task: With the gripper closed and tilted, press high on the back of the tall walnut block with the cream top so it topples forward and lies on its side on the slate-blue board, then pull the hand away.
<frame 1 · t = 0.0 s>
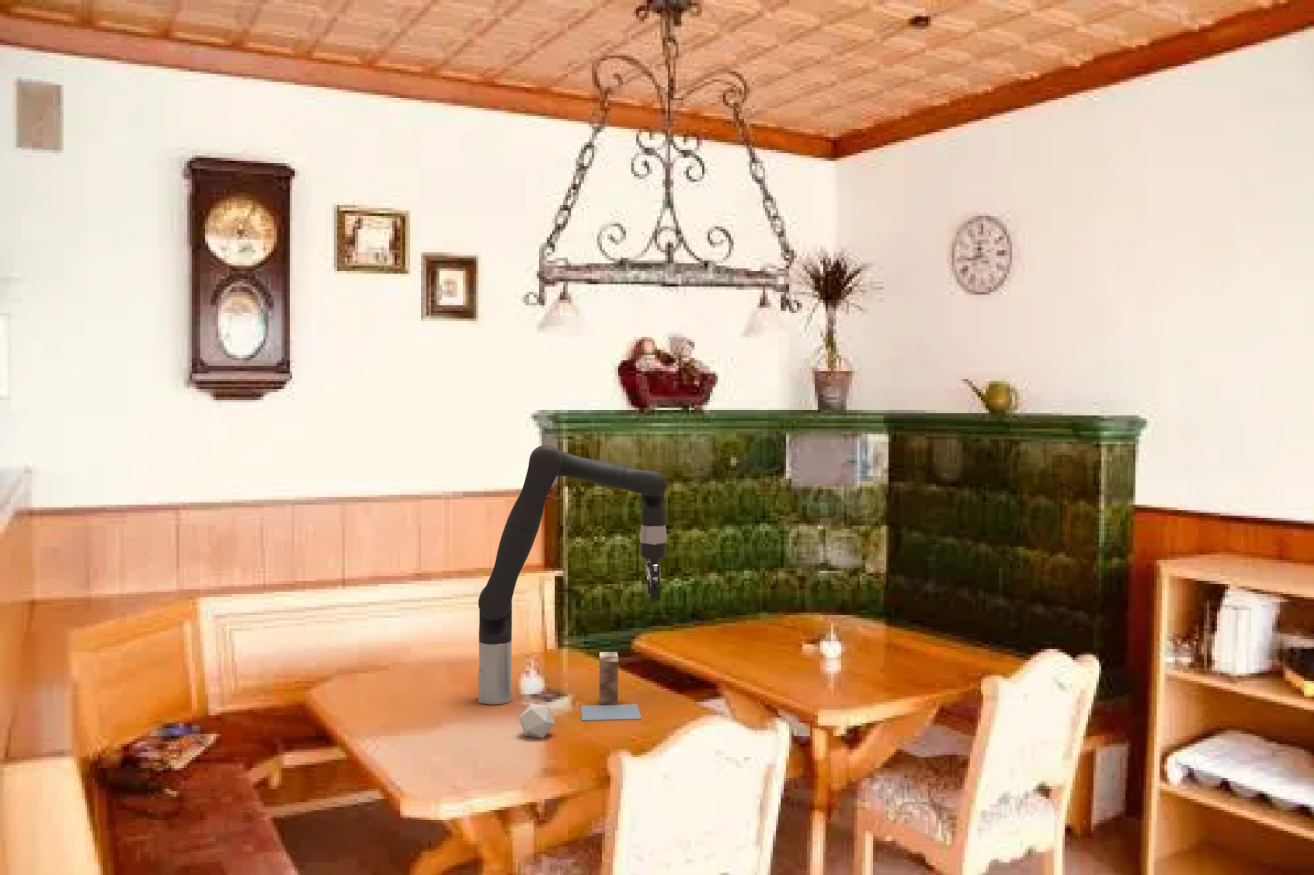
hand: (653, 596, 327), 29 cm above the table, tool pointing down, fingers open, 8 cm apart
block: (608, 703, 323), on the table
board: (610, 713, 313), on the table
die: (536, 736, 294), on the table
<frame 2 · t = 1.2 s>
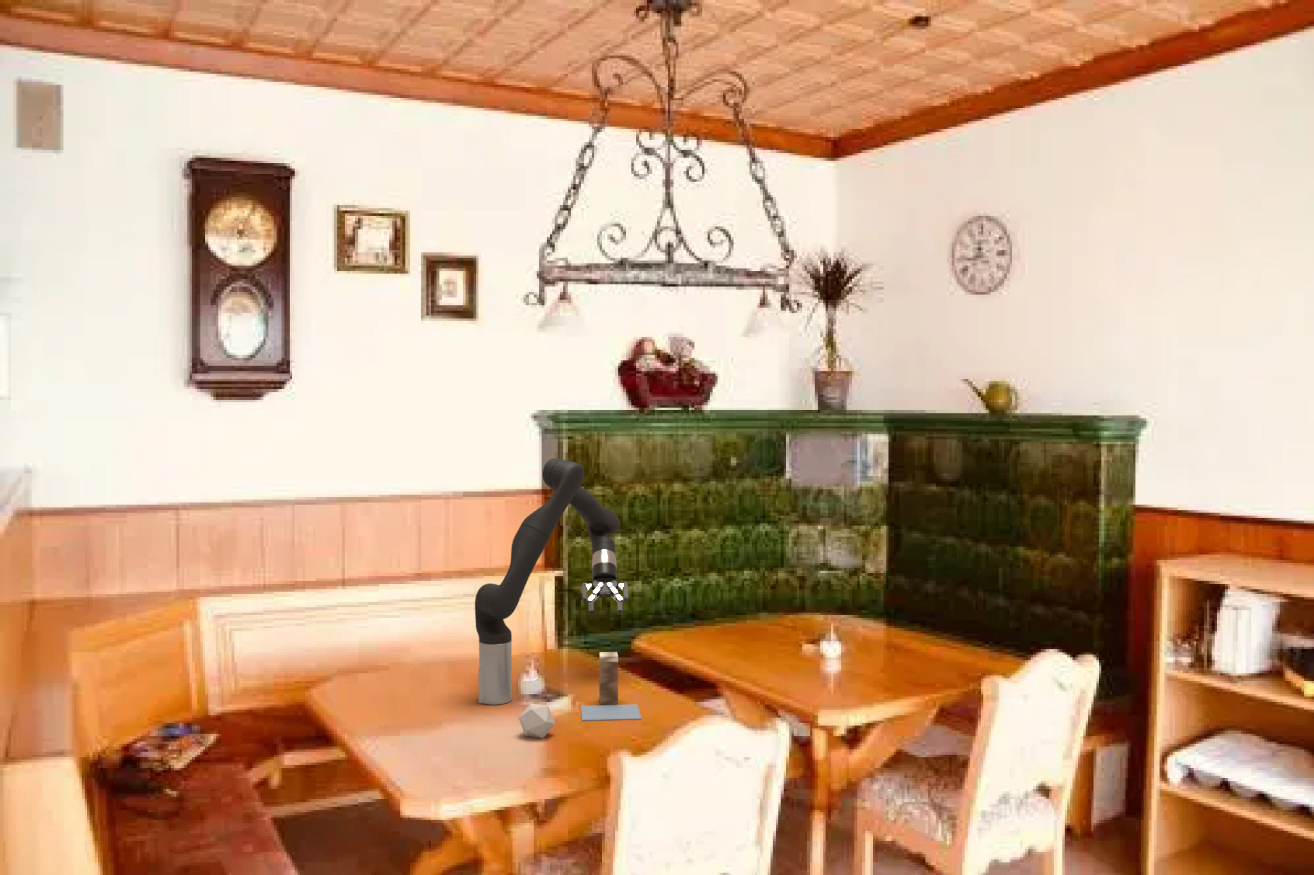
hand: (605, 613, 340), 22 cm above the table, tool tilted 45°, fingers open, 7 cm apart
nothing on the table moved.
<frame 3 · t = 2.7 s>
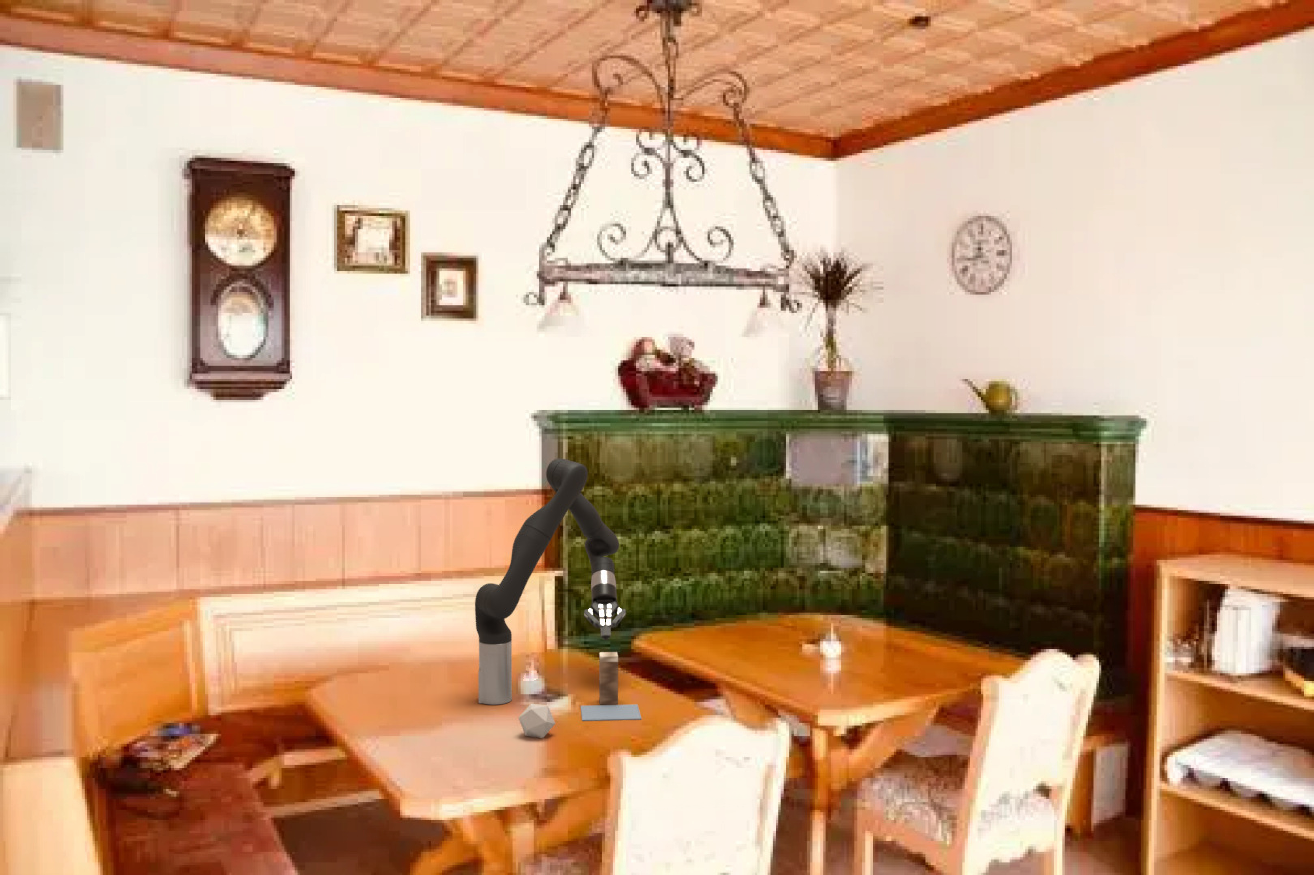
hand: (606, 638, 333), 16 cm above the table, tool tilted 45°, fingers closed
nothing on the table moved.
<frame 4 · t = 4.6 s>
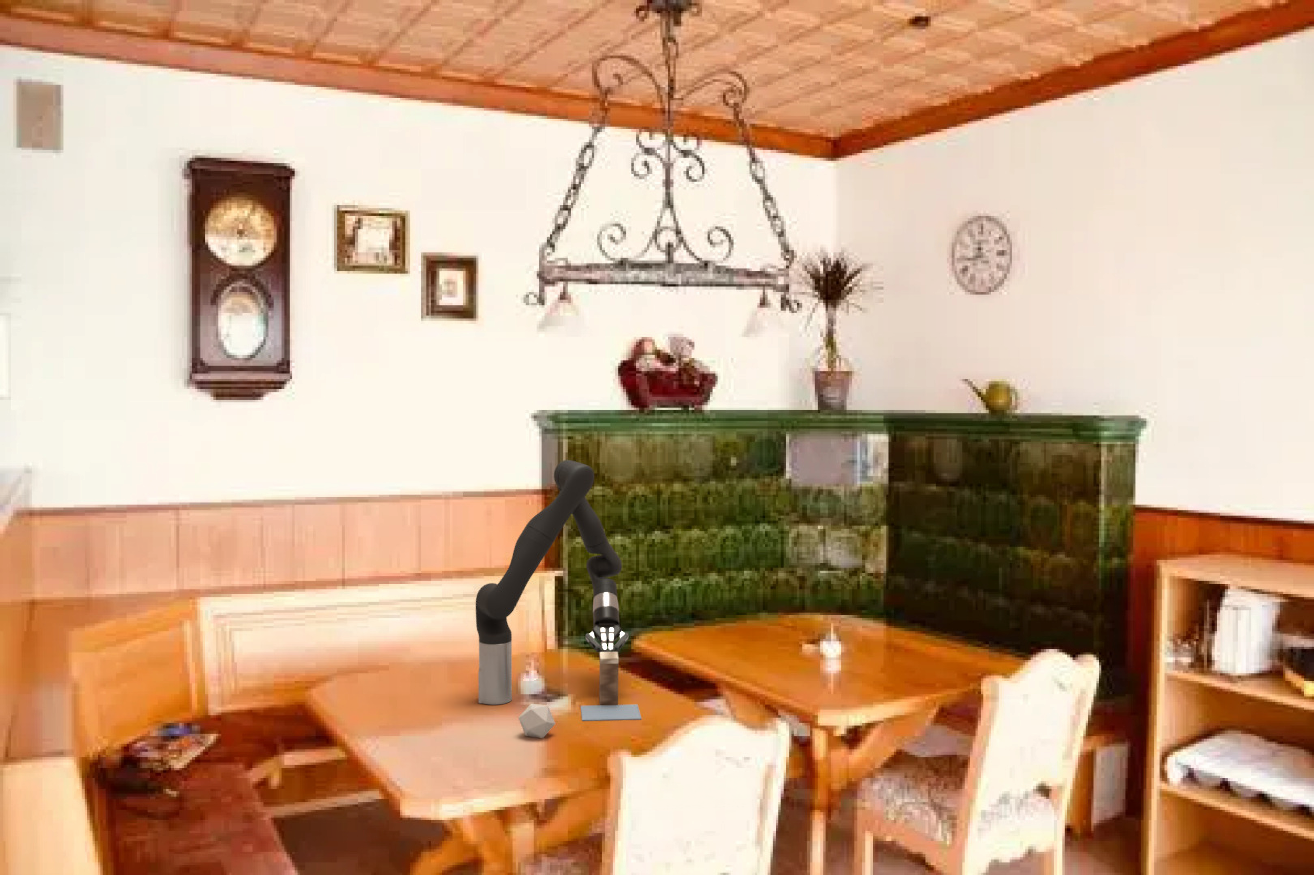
hand: (608, 663, 324), 11 cm above the table, tool tilted 45°, fingers closed
block: (608, 702, 323), on the table, tilted 7°, touching gripper
everything else where it was.
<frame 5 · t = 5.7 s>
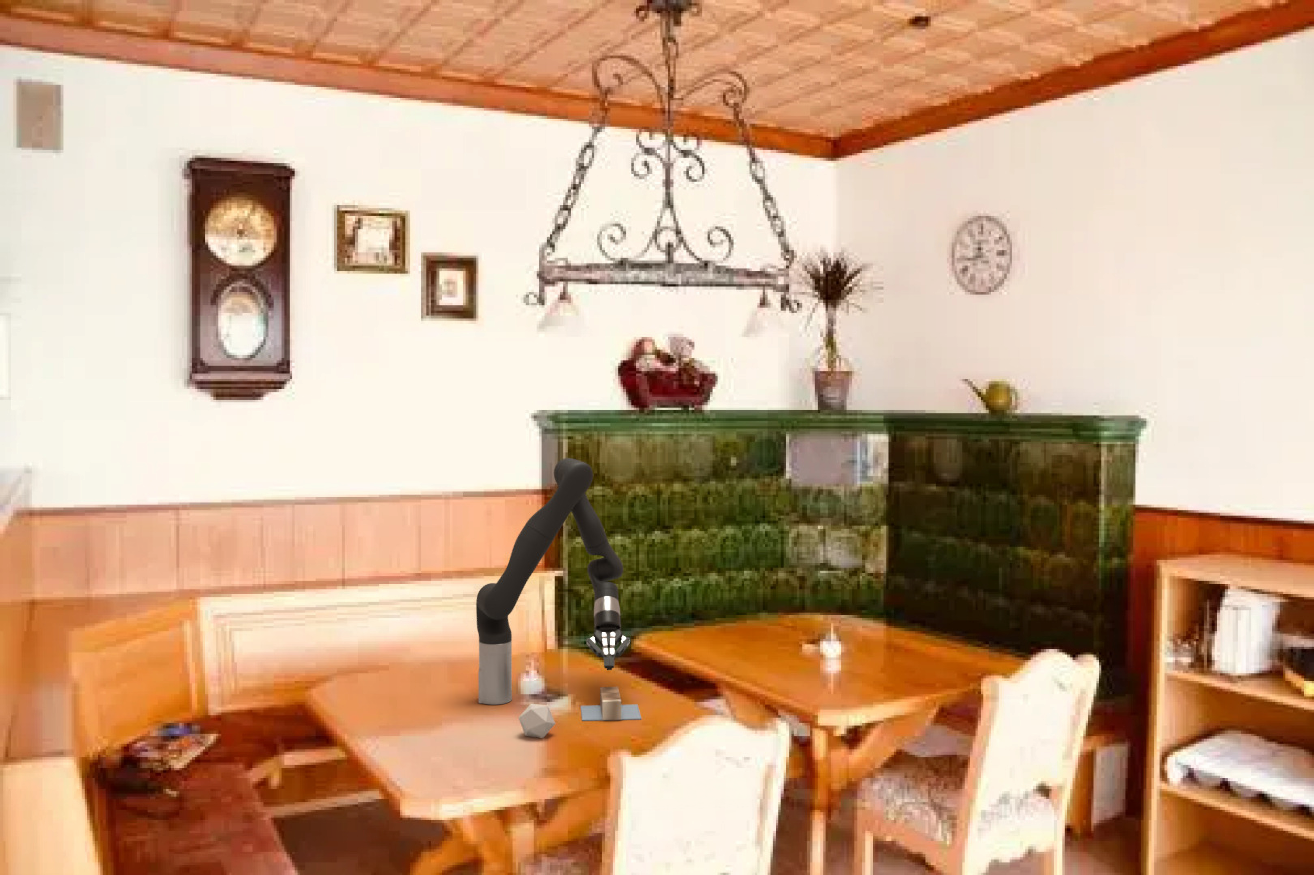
hand: (609, 668, 318), 11 cm above the table, tool tilted 45°, fingers closed
block: (609, 695, 320), point 3 cm above the table, tilted 90°, touching board
everything else where it was.
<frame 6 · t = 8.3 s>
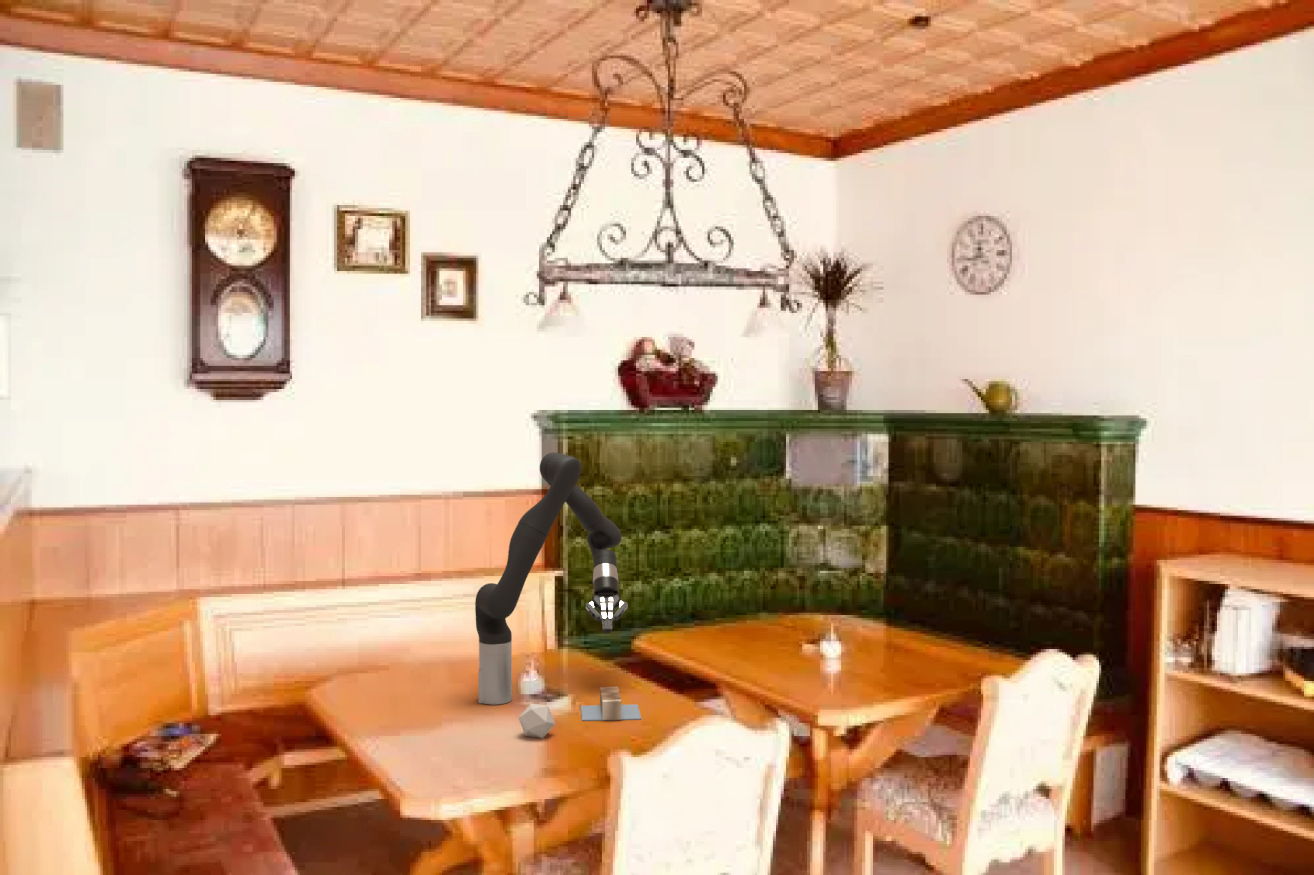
hand: (607, 631, 330), 19 cm above the table, tool tilted 45°, fingers closed
nothing on the table moved.
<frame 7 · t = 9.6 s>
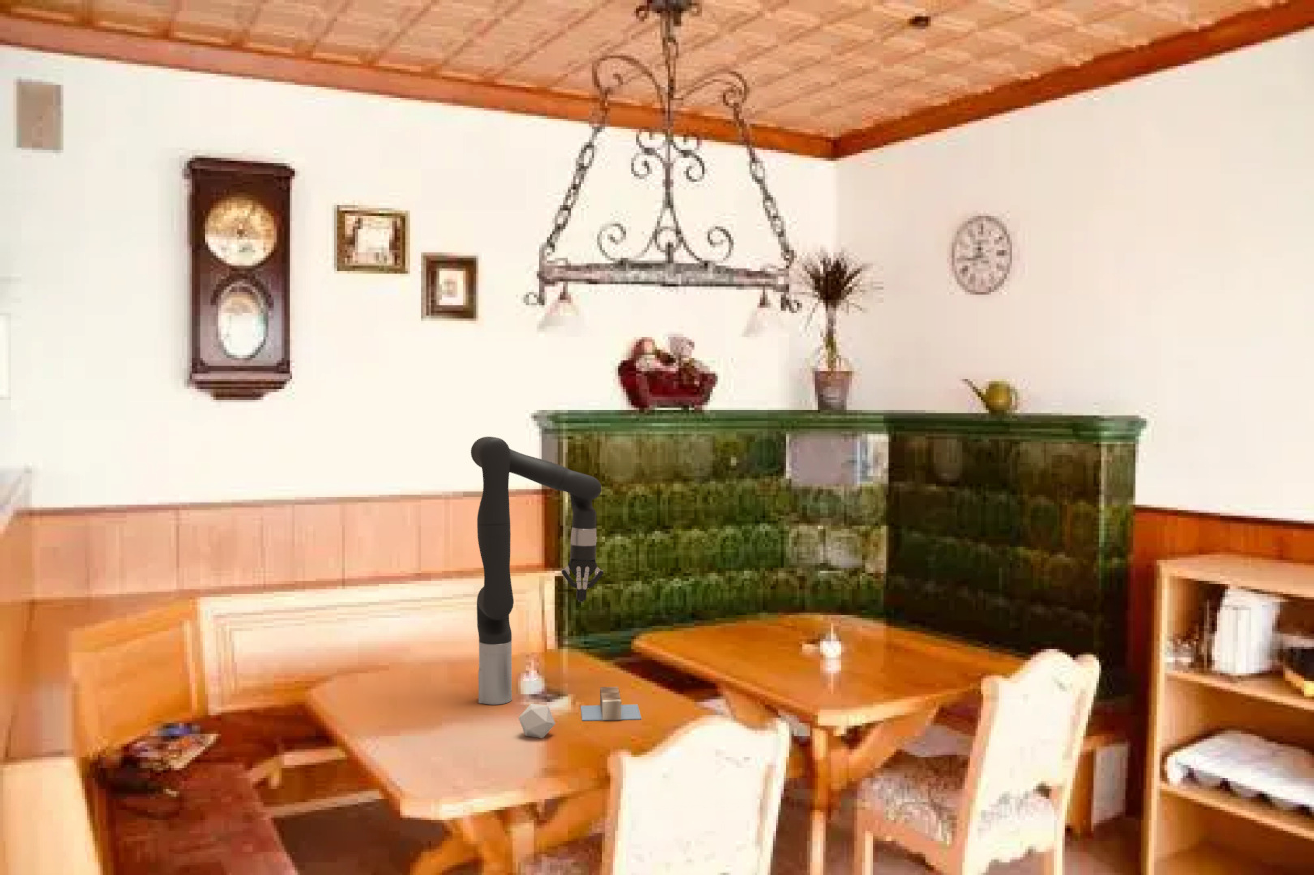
hand: (581, 601, 336), 26 cm above the table, tool pointing down, fingers closed
nothing on the table moved.
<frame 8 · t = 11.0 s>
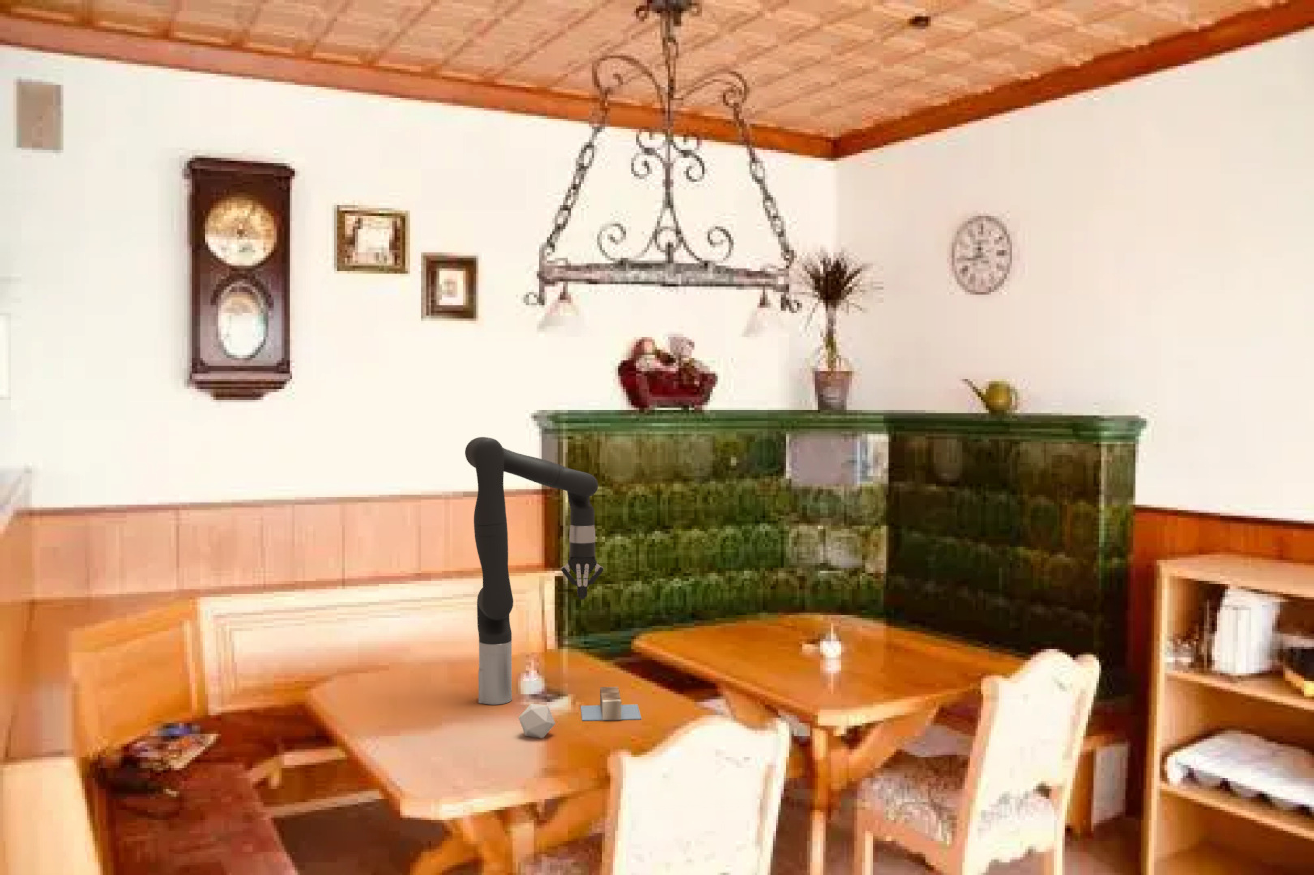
hand: (582, 598, 335), 27 cm above the table, tool pointing down, fingers closed
nothing on the table moved.
at the end: block tilted 90°; block inside the target area (1.1 cm from its centre), point 2.8 cm above the table; block touching board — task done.
